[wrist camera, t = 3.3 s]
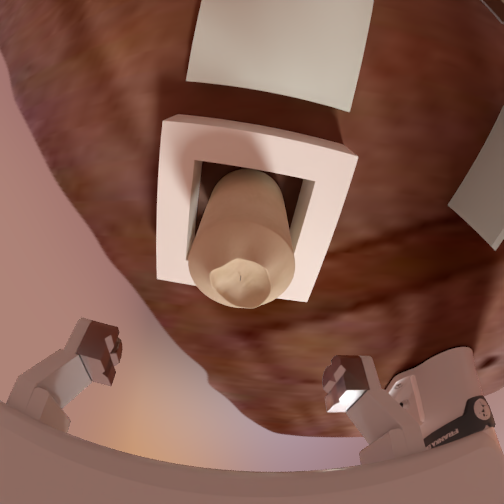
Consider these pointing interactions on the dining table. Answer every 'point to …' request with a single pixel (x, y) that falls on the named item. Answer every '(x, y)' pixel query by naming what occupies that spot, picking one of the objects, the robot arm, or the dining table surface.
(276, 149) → the pocket block
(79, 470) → the robot arm
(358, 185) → the dining table surface
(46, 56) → the dining table surface
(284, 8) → the cream tile
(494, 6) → the food container
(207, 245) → the candle
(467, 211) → the l-shaped corner panel
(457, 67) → the dining table surface
